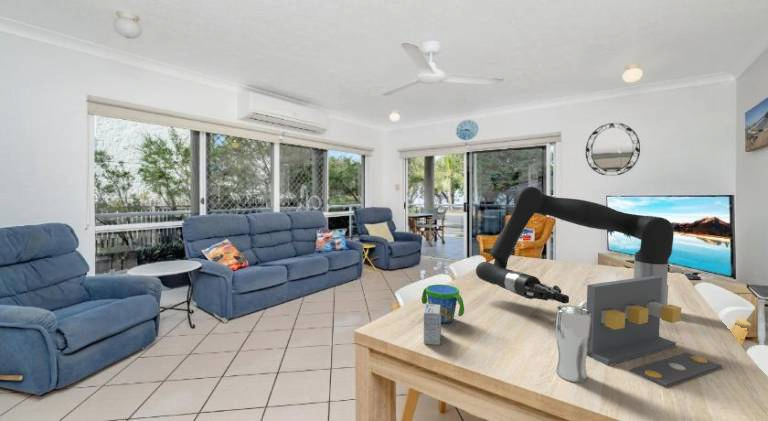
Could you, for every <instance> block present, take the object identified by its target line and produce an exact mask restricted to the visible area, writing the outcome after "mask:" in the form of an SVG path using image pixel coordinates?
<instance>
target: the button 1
mask: <svg viewBox="0 0 768 421" xmlns="http://www.w3.org/2000/svg"><path fill="white" fill-rule="evenodd" d="M577 307H581V308H584V309H587V300H583V301H581V302H580V303H579V304H578V306H577ZM601 323H603V324H605V326H607V327H609V328H612V329H615V330H616V329H620V328H625V313H624V312H620V311H617V310H609V309H603V310H601Z"/></svg>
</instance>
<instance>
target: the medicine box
mask: <svg viewBox="0 0 768 421" xmlns="http://www.w3.org/2000/svg"><path fill="white" fill-rule="evenodd" d="M441 335H442V323H441V305H436V304H428V303H426V306H425V309H424V313H423V344H424V345H430V346H431V345H433V346H440V345H441V337H442V336H441Z"/></svg>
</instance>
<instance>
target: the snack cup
mask: <svg viewBox="0 0 768 421" xmlns="http://www.w3.org/2000/svg"><path fill="white" fill-rule="evenodd" d="M422 291H423V292H422V295H421V303H422V304H423V305H425V304H436V305H441V324H449V323H452V322H453V320H454V318H455V313H456V309H457V308H456V307H457V303H458V305H459V310H458V313H457V314H458V315H457V316H458V317H462V316H463V315H464V313H465V305H464V304H465V303H464V300H463V298H462V296H461V294H460V290H459V288H458V287H456V286H453V285H449V284H430V285H428V286H426V287H425V288H424V289H423V290H422Z"/></svg>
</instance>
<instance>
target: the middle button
mask: <svg viewBox="0 0 768 421" xmlns="http://www.w3.org/2000/svg"><path fill="white" fill-rule="evenodd" d="M624 313H625V318H626V319H628V321H630V322H633V323H636V324H643V323H647V322H648V308H645V307H641V306H633V305H625V310H624Z"/></svg>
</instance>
